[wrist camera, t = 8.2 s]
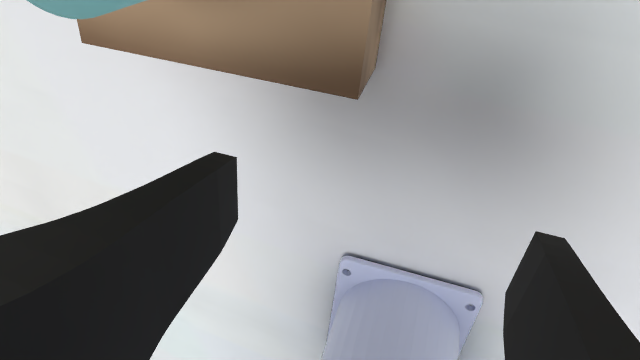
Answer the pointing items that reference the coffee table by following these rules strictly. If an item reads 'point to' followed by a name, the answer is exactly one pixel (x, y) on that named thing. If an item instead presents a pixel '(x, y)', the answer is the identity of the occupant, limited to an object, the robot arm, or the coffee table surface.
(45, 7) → the teal tin
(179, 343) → the coffee table surface
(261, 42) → the walnut block
